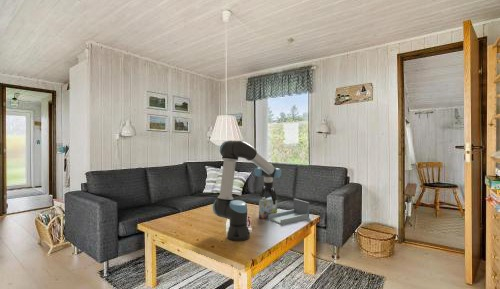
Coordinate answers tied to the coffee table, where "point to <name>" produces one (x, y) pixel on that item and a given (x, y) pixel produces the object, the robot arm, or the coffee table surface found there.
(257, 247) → the coffee table surface
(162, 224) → the coffee table surface
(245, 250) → the coffee table surface
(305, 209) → the shelf
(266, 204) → the snack box
